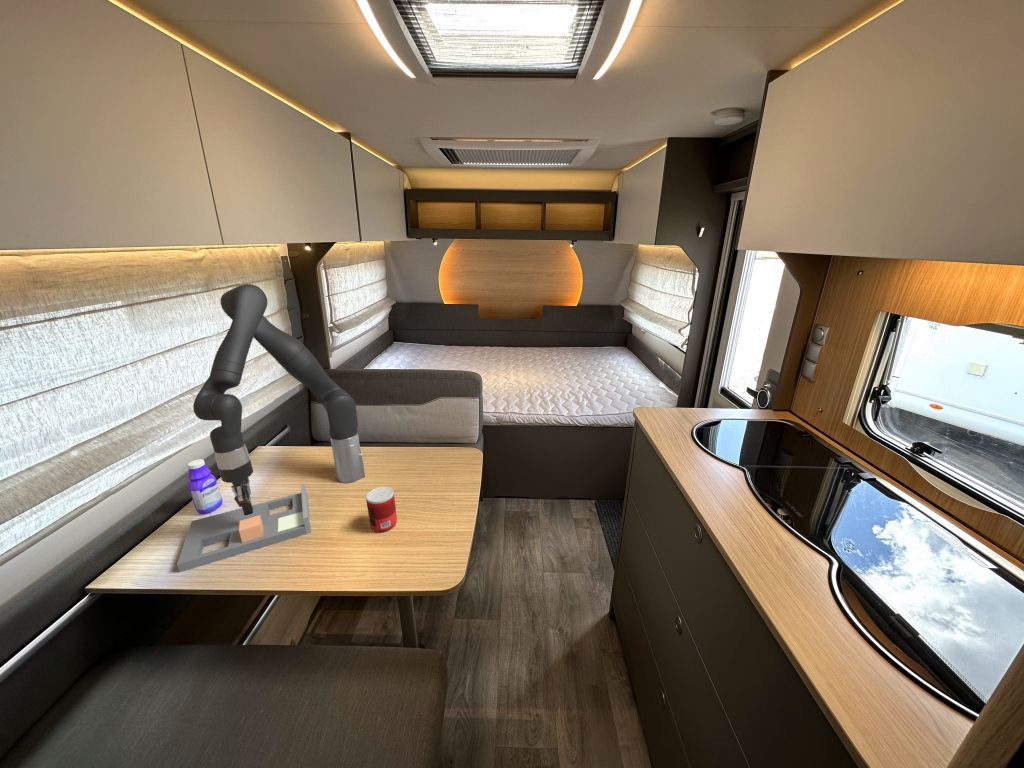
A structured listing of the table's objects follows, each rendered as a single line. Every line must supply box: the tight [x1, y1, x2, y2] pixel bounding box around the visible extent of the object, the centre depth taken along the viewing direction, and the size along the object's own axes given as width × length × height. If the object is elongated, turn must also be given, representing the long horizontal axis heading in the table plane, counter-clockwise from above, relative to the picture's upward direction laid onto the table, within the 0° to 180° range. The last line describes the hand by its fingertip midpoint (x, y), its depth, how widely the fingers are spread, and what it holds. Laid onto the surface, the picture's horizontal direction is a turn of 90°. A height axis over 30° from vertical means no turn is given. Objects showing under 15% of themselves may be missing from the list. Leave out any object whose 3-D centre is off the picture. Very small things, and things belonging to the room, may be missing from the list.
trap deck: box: [176, 483, 312, 573], centre depth 118 cm, size 31×20×6 cm, turn 119°
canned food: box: [365, 486, 398, 534], centre depth 119 cm, size 8×8×11 cm
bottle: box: [187, 458, 224, 515], centre depth 127 cm, size 7×6×17 cm
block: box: [239, 515, 263, 543], centre depth 113 cm, size 5×5×4 cm
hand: (249, 513), depth 116 cm, fingers closed
